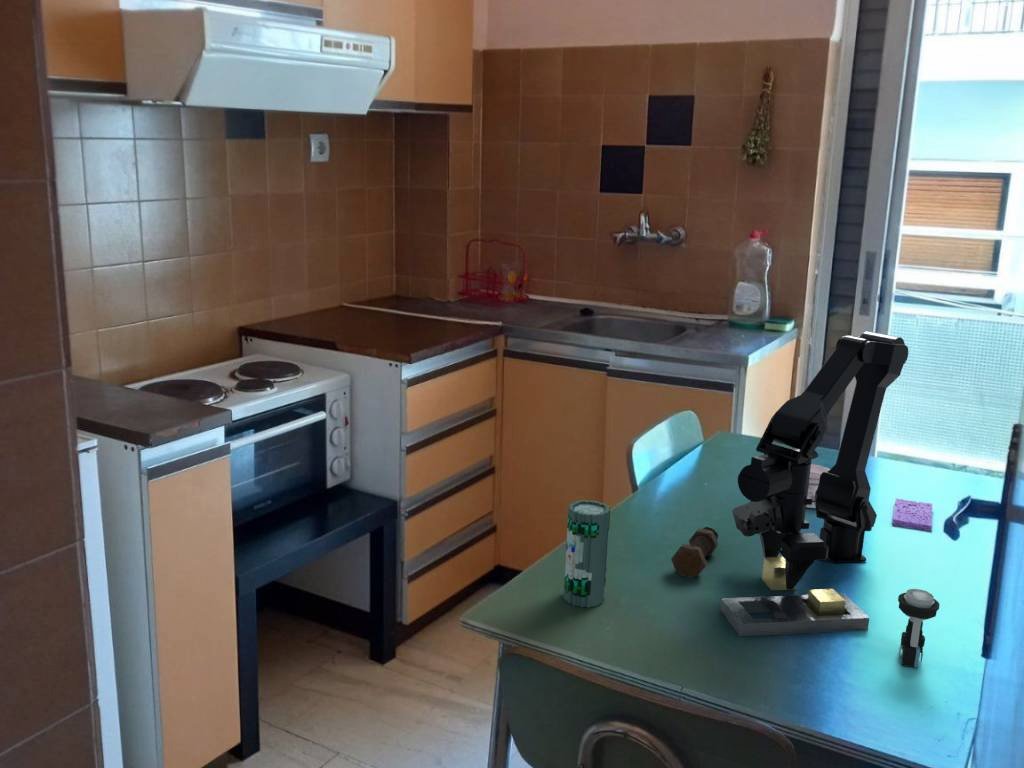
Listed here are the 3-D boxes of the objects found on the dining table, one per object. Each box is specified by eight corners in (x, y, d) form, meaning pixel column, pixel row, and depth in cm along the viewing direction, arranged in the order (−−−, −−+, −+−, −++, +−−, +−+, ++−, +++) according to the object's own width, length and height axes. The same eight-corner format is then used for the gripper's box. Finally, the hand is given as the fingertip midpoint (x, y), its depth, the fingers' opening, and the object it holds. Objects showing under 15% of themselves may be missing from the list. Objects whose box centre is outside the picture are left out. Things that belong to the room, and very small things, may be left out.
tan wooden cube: (830, 612, 152) (833, 588, 151) (842, 625, 148) (845, 600, 147) (805, 613, 151) (808, 589, 150) (817, 626, 148) (820, 601, 147)
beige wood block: (784, 578, 163) (787, 556, 162) (795, 589, 159) (798, 567, 158) (761, 579, 163) (764, 557, 162) (771, 590, 159) (774, 567, 158)
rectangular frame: (842, 605, 154) (843, 593, 154) (867, 630, 147) (869, 617, 146) (720, 610, 151) (721, 598, 151) (740, 636, 144) (741, 623, 143)
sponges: (931, 512, 197) (932, 503, 196) (931, 534, 185) (932, 525, 185) (894, 506, 199) (895, 497, 199) (891, 527, 188) (892, 518, 187)
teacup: (846, 497, 202) (849, 468, 201) (829, 514, 192) (833, 484, 191) (788, 484, 208) (791, 456, 207) (769, 500, 199) (772, 471, 197)
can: (557, 592, 155) (562, 502, 151) (592, 586, 157) (597, 498, 154) (575, 609, 150) (580, 517, 146) (610, 603, 152) (616, 512, 148)
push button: (888, 642, 143) (897, 579, 141) (927, 649, 142) (937, 585, 139) (891, 665, 137) (900, 599, 135) (932, 672, 136) (942, 606, 133)
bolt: (711, 555, 176) (690, 585, 163) (689, 537, 177) (665, 565, 164) (730, 531, 174) (710, 560, 160) (707, 513, 175) (685, 540, 162)
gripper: (719, 469, 164) (711, 555, 168) (765, 510, 147) (755, 606, 150) (782, 467, 166) (773, 553, 170) (835, 509, 148) (823, 603, 152)
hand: (779, 578), depth 161 cm, fingers open, 8 cm apart
